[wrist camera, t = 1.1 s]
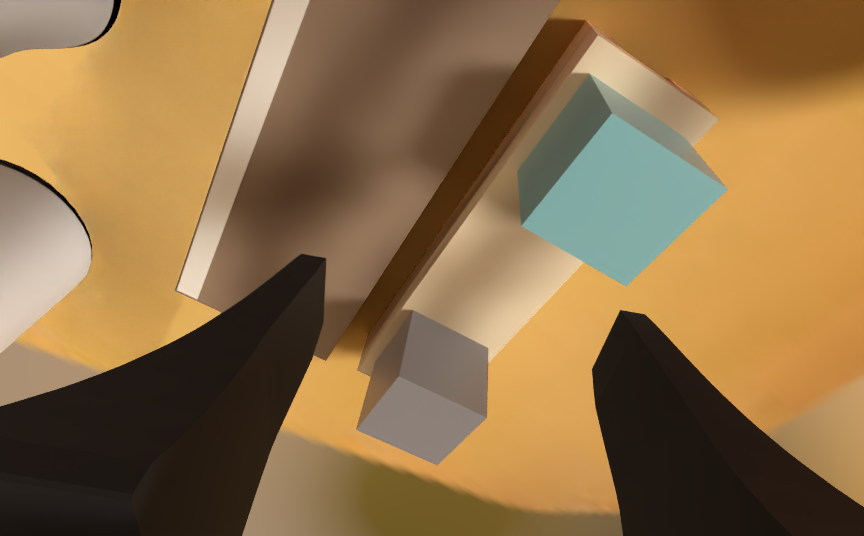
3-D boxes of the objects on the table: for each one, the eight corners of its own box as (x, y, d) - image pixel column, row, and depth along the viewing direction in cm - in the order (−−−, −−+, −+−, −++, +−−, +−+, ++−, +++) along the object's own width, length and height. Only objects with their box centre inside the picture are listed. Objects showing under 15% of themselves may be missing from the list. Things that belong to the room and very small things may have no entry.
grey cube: (488, 348, 24) (487, 417, 20) (444, 395, 26) (437, 465, 23) (413, 310, 23) (398, 376, 20) (374, 362, 25) (356, 429, 22)
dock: (570, -33, 17) (577, -27, 15) (335, 334, 28) (325, 362, 26) (355, -187, 15) (337, -200, 14) (194, 267, 26) (173, 291, 24)
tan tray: (691, 93, 19) (719, 119, 17) (447, 368, 29) (443, 410, 26) (584, 18, 18) (598, 35, 16) (369, 330, 28) (357, 370, 25)
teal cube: (684, 137, 17) (727, 189, 14) (604, 223, 19) (626, 286, 16) (589, 73, 16) (612, 113, 13) (517, 171, 19) (521, 226, 15)
